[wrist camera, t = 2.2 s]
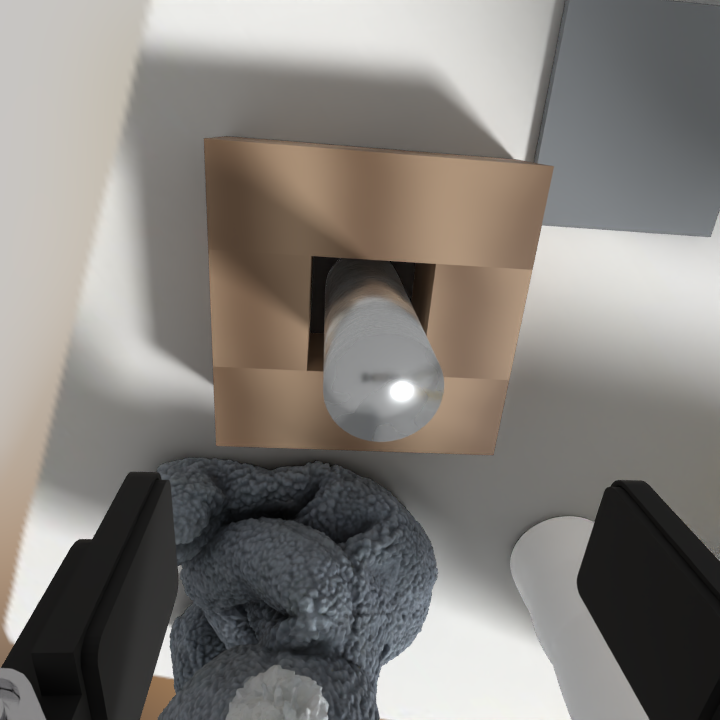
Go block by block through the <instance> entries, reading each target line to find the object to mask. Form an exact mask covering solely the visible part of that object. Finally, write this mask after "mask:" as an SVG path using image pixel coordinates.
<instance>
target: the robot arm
mask: <svg viewBox="0 0 720 720" xmlns="http://www.w3.org/2000/svg"><path fill="white" fill-rule="evenodd" d="M577 589H578V593H579V595H580V597H581V599H582V600H583V602H584V604H585V606H586V608H587V609H588V611H589V613H590V615H591V616H592V618H593V620H594V622H595V624H596V625H597V627H598V629H599V631H600V633H601V634H602V636H603V638H604V640H605V641H606V643H607V645H608V647H609V649H610V650H611V652H612V654H613V656H614V658H615V659H616V661H617V663H618V665H619V666H620V668H621V670H622V672H623V674H624V675H625V677H626V679H627V681H628V682H629V684H630V686H631V688H632V690H633V691H634V693H635V695H636V697H637V699H638V700H639V702H640V704H641V706H642V707H643V709H644V711H645V713H646V715H647V716H648V718H649V720H720V561H719V560H718V559H717V558H716V557H715V556H714V555H713V554H712V553H711V552H710V551H709V549H708V548H707V547H706V546H705V545H704V544H703V543H702V542H701V541H700V540H699V539H698V538H697V536H696V535H695V534H694V533H693V532H692V531H691V530H690V529H689V528H688V527H687V526H686V525H685V524H684V522H683V521H682V520H681V519H680V518H679V517H678V516H677V515H676V514H675V513H674V512H673V511H672V509H671V508H670V507H669V506H668V505H667V504H666V503H665V502H664V501H663V500H662V499H661V498H660V497H659V495H658V494H657V493H656V492H655V491H654V490H653V489H652V488H651V487H650V486H649V485H648V484H647V483H646V482H644V481H632V480H618V481H615V482H614V483H613V484H612V485H611V487H607V488H606V489H605V492H604V494H603V497H602V500H601V504H600V507H599V510H598V513H597V516H596V519H595V522H594V525H593V528H592V532H591V535H590V538H589V541H588V544H587V547H586V550H585V553H584V557H583V560H582V563H581V566H580V569H579V572H578V575H577ZM177 590H178V567H177V555H176V543H175V531H174V519H173V507H172V495H171V484H170V481H169V480H162V479H161V475H160V473H158V472H130V473H129V474H128V475H127V476H126V478H125V480H124V482H123V484H122V486H121V487H120V489H119V491H118V493H117V495H116V497H115V499H114V500H113V502H112V504H111V506H110V508H109V510H108V511H107V513H106V515H105V517H104V519H103V521H102V523H101V524H100V526H99V528H98V530H97V532H96V534H95V535H94V537H93V539H79V540H78V541H76V542H75V543H74V544H73V546H72V547H71V548H70V550H69V552H68V553H67V555H66V557H65V559H64V560H63V562H62V564H61V565H60V567H59V569H58V571H57V572H56V574H55V576H54V578H53V579H52V581H51V583H50V584H49V586H48V588H47V590H46V591H45V593H44V595H43V596H42V598H41V600H40V602H39V603H38V605H37V607H36V608H35V610H34V612H33V614H32V615H31V617H30V619H29V620H28V622H27V624H26V626H25V627H24V629H23V631H22V633H21V634H20V636H19V638H18V639H17V641H16V643H15V645H14V646H13V648H12V650H11V651H10V653H9V655H8V657H7V658H6V660H5V662H4V664H3V665H2V667H1V668H0V720H140V717H141V713H142V710H143V707H144V704H145V700H146V697H147V694H148V690H149V687H150V683H151V680H152V677H153V673H154V670H155V667H156V663H157V660H158V657H159V653H160V650H161V647H162V643H163V640H164V636H165V633H166V630H167V626H168V623H169V620H170V616H171V613H172V610H173V606H174V603H175V599H176V596H177Z"/></svg>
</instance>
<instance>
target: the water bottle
mask: <svg viewBox="0 0 720 720" xmlns="http://www.w3.org/2000/svg"><path fill="white" fill-rule="evenodd" d="M593 525H594V522H593V521H591V520H588V519H585V518H582V517H575V516H562V517H556V518H551V519H548V520H545V521H543V522H541V523H539V524H537V525H535V526H533V527H532V528H530V529H529V530H528V531H527V532H526V533H524V534H523V535H522V537H521V538H520V539H519V540H518V542H517V543H516V545H515V547H514V549H513V551H512V554H511V559H510V569H511V573H512V577H513V579H514V582H515V584H516V587H517V589H518V591H519V593H520V595H521V597H522V599H523V601H524V603H525V605H526V607H527V608H528V610H529V611H530V614H531V618H532V622H533V626H534V629H535V632H536V634H537V637H538V639H539V642H540V644H541V646H542V648H543V650H544V652H545V654H546V656H547V657H548V659H549V660H550V662H551V663H552V665H553V667H554V670H555V674H556V677H557V680H558V683H559V686H560V689H561V692H562V695H563V698H564V701H565V703H566V706H567V709H568V712H569V714H570V717H571V719H572V720H649V718H648V716H647V715H646V713H645V711H644V709H643V707H642V706H641V704H640V702H639V700H638V699H637V697H636V695H635V693H634V691H633V690H632V688H631V686H630V684H629V682H628V681H627V679H626V677H625V675H624V674H623V672H622V670H621V668H620V666H619V665H618V663H617V661H616V659H615V658H614V656H613V654H612V652H611V650H610V649H609V647H608V645H607V643H606V641H605V640H604V638H603V636H602V634H601V633H600V631H599V629H598V627H597V625H596V624H595V622H594V620H593V618H592V616H591V615H590V613H589V611H588V609H587V608H586V606H585V604H584V602H583V600H582V599H581V597H580V595H579V593H578V589H577V575H578V572H579V569H580V566H581V563H582V560H583V557H584V553H585V550H586V547H587V544H588V541H589V538H590V535H591V532H592V528H593Z"/></svg>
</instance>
